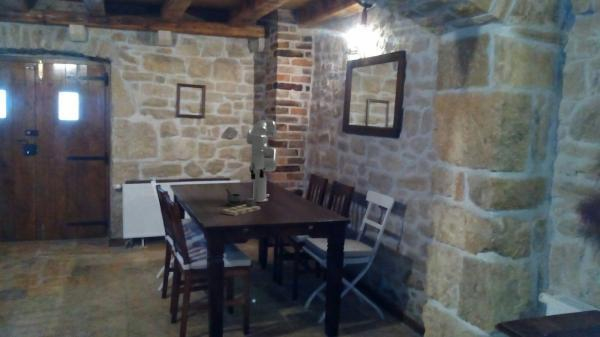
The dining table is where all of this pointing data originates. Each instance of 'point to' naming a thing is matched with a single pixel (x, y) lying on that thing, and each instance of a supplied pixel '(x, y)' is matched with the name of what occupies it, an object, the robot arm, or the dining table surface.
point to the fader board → (240, 210)
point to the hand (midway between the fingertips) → (257, 178)
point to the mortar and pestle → (233, 198)
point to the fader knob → (250, 202)
